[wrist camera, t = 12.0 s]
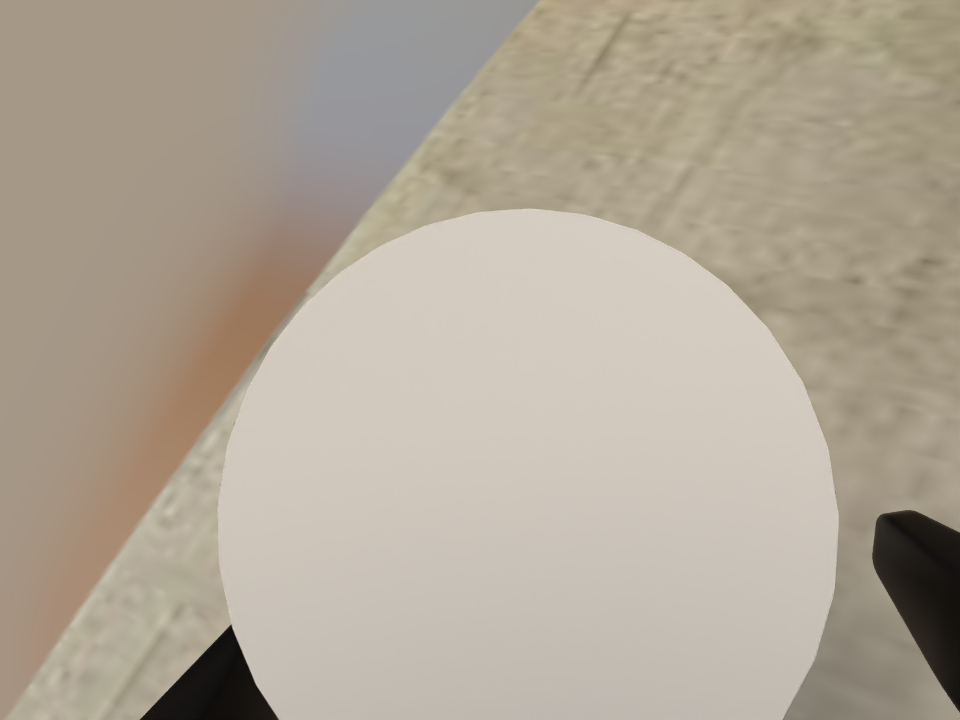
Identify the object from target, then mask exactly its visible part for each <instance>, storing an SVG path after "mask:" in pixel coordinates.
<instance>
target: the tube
mask: <svg viewBox="0 0 960 720" xmlns="http://www.w3.org/2000/svg"><path fill="white" fill-rule="evenodd" d="M838 526H839V515H838V509H837V503H836V496H835V490H834V483H833V477H832V471H831V464H830V458H829V452H828V446H827V444H826V441H825V439H824V436H823V433H822V431H821V428H820V426H819V423H818V420H817V418H816V415H815V413H814V410H813V407H812V405H811V402H810V400H809V397H808V394H807V392H806V389H805V387H804V384H803V382H802V380H801V379H800V377H799V376H798V374H797V373H796V371H795V370H794V368H793V366H792V365H791V363H790V362H789V360H788V359H787V357H786V355H785V354H784V352H783V351H782V349H781V348H780V346H779V345H778V343H777V341H776V340H775V338H774V337H773V335H772V334H771V332H770V330H769V329H768V328H767V327H766V326H765V325H764V323H763V322H762V321H761V320H760V319H759V318H758V317H757V316H756V315H755V314H754V313H753V312H752V311H751V310H750V309H749V308H748V307H747V306H746V305H745V304H744V302H743V301H742V300H741V299H740V298H739V297H738V296H737V295H736V294H735V293H734V292H733V291H732V290H731V289H730V288H729V287H728V286H727V285H726V284H725V283H723V282H722V281H721V280H719V279H718V278H717V277H715V276H714V275H712V274H711V273H710V272H708V271H707V270H706V269H704V268H703V267H702V266H700V265H699V264H697V263H696V262H695V261H693V260H692V259H691V258H689V257H688V256H686V255H685V254H684V253H682V252H680V251H678V250H676V249H674V248H672V247H670V246H668V245H666V244H664V243H662V242H660V241H658V240H656V239H654V238H652V237H650V236H648V235H646V234H644V233H642V232H640V231H638V230H635V229H632V228H628V227H625V226H622V225H618V224H615V223H612V222H608V221H605V220H602V219H598V218H595V217H591V216H588V215H584V214H575V213H566V212H557V211H548V210H539V209H519V210H504V211H490V212H477V213H473V214H469V215H465V216H461V217H457V218H453V219H449V220H445V221H441V222H437V223H433V224H429V225H426V226H423V227H421V228H419V229H417V230H415V231H412V232H410V233H408V234H406V235H403V236H401V237H399V238H397V239H395V240H392V241H390V242H388V243H386V244H383V245H381V246H379V247H377V248H376V249H374V250H373V251H371V252H370V253H368V254H367V255H365V256H364V257H362V258H361V259H359V260H358V261H356V262H355V263H353V264H352V265H351V266H349V267H348V268H346V269H345V270H343V271H342V272H340V273H339V274H337V275H336V276H335V277H334V278H333V279H332V280H331V281H329V282H328V283H327V284H326V285H325V286H324V287H323V288H322V289H321V290H320V291H319V292H318V293H317V294H316V295H315V296H313V297H312V298H311V299H310V300H309V301H308V302H307V303H306V304H305V305H304V306H303V307H302V308H301V309H300V310H299V311H298V313H297V314H296V315H295V317H294V318H293V319H292V320H291V322H290V323H289V324H288V326H287V327H286V328H285V329H284V331H283V332H282V333H281V334H280V336H279V337H278V338H277V340H276V341H275V342H274V343H273V345H272V346H271V348H270V350H269V351H268V353H267V355H266V357H265V359H264V360H263V362H262V364H261V366H260V368H259V369H258V371H257V373H256V375H255V377H254V378H253V380H252V382H251V384H250V386H249V388H248V389H247V391H246V393H245V396H244V399H243V402H242V405H241V408H240V411H239V413H238V416H237V419H236V422H235V425H234V428H233V431H232V433H231V436H230V439H229V442H228V445H227V450H226V457H225V463H224V469H223V475H222V481H221V488H220V494H219V500H218V536H219V568H220V572H221V577H222V582H223V586H224V591H225V596H226V601H227V605H228V610H229V615H230V620H231V624H232V628H233V631H234V633H235V635H236V638H237V640H238V643H239V645H240V647H241V650H242V652H243V654H244V657H245V659H246V662H247V664H248V666H249V669H250V671H251V674H252V676H253V678H254V681H255V683H256V685H257V687H258V688H259V690H260V691H261V693H262V694H263V696H264V697H265V699H266V700H267V702H268V704H269V705H270V707H271V708H272V710H273V711H274V713H275V714H276V716H277V717H278V719H279V720H782V719H783V718H784V716H785V714H786V712H787V710H788V708H789V707H790V705H791V703H792V701H793V699H794V697H795V695H796V694H797V692H798V690H799V688H800V686H801V684H802V682H803V681H804V679H805V677H806V675H807V673H808V671H809V670H810V668H811V666H812V664H813V662H814V660H815V657H816V654H817V650H818V647H819V643H820V640H821V636H822V633H823V629H824V626H825V622H826V619H827V615H828V612H829V609H830V605H831V602H832V598H833V595H834V591H835V575H836V559H837V542H838Z"/></svg>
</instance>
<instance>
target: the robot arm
mask: <svg viewBox="0 0 960 720" xmlns="http://www.w3.org/2000/svg"><path fill="white" fill-rule="evenodd" d="M872 559H873V564H874V568H875V570H876V573H877V575H878V576H879V578H880V580H881V582H882V583H883V585H884V587H885V589H886V590H887V592H888V594H889V596H890V598H891V599H892V601H893V603H894V605H895V606H896V608H897V610H898V612H899V613H900V615H901V617H902V619H903V620H904V622H905V624H906V626H907V627H908V629H909V631H910V633H911V634H912V636H913V638H914V640H915V641H916V643H917V645H918V647H919V648H920V650H921V652H922V654H923V655H924V657H925V659H926V661H927V662H928V664H929V666H930V668H931V669H932V671H933V672H934V674H935V676H936V677H937V679H938V681H939V682H940V684H941V686H942V687H943V689H944V690H945V692H946V693H947V695H948V696H949V698H950V699H951V701H952V702H953V704H954V705H955V706H956V708H957V709H958V711H959V712H960V533H959V532H957V531H955V530H953V529H951V528H949V527H947V526H945V525H943V524H941V523H939V522H937V521H935V520H933V519H931V518H929V517H927V516H925V515H923V514H921V513H918V512H916V511H912V510H904V511H898V512H891V513H885V514H882V515H880V516H879V517H878V519H877V521H876V528H875V536H874V545H873V553H872ZM140 720H279V719H278V717H277V716H276V714H275V713H274V711H273V710H272V708H271V707H270V705H269V704H268V702H267V700H266V699H265V697H264V696H263V694H262V693H261V691H260V690H259V688H258V687H257V685H256V683H255V681H254V678H253V676H252V674H251V671H250V669H249V666H248V664H247V662H246V659H245V657H244V654H243V652H242V650H241V647H240V645H239V643H238V640H237V638H236V635H235V633H234V631H233V628H232V624H231V625H230V626H229V627H228V628H227V629H226V630H225V631H224V632H223V634H222V635H221V636H220V637H219V638H218V639H217V640H216V641H215V642H214V643H213V644H212V645H211V646H210V647H209V648H208V649H207V650H206V651H205V652H204V653H203V654H202V655H201V656H200V658H199V659H198V660H197V661H196V662H195V663H194V664H193V665H192V666H191V667H190V668H189V669H188V670H187V671H186V672H185V673H184V674H183V675H182V676H181V677H180V678H179V679H178V680H177V681H176V683H175V684H174V685H173V686H172V687H171V688H170V689H169V690H168V691H167V692H166V693H165V694H164V695H163V696H162V697H161V698H160V699H159V700H158V701H157V702H156V703H155V704H154V705H153V706H152V708H151V709H150V710H149V711H148V712H147V713H146V714H145V715H144V716H143V717H142V718H141V719H140Z"/></svg>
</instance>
